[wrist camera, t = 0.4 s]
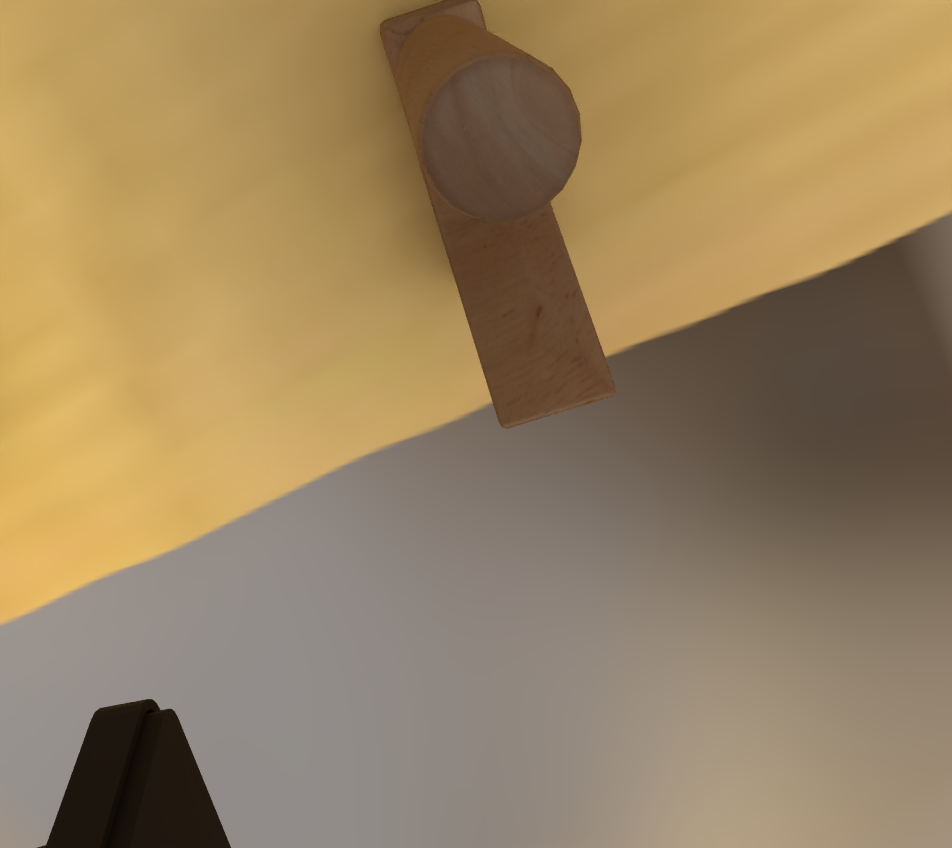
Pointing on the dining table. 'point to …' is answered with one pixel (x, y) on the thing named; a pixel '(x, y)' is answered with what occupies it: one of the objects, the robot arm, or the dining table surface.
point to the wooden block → (501, 203)
